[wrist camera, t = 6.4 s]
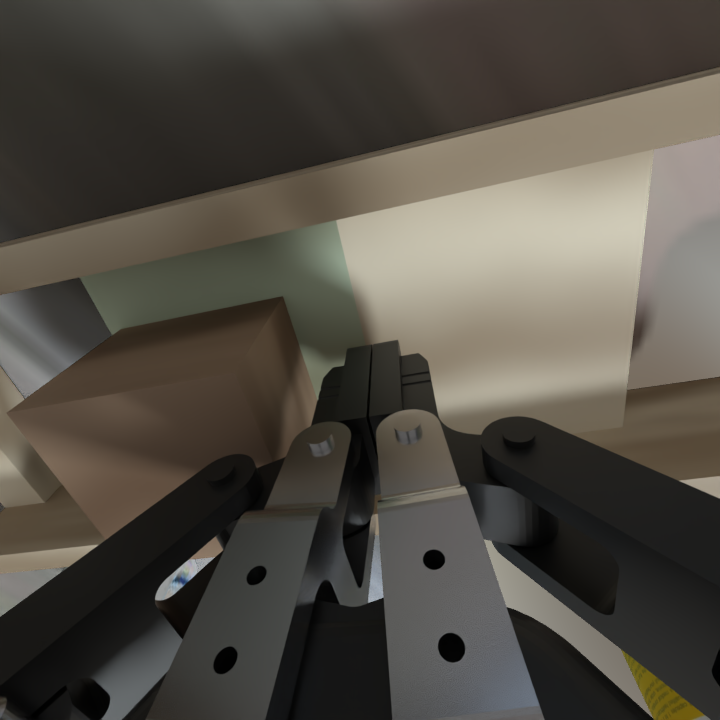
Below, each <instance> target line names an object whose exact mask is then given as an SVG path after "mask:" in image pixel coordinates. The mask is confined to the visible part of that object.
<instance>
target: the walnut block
mask: <svg viewBox="0 0 720 720" xmlns="http://www.w3.org/2000/svg"><path fill="white" fill-rule="evenodd" d="M316 404H317V398H316V395H315V392H314V388H313V385H312V382H311V379H310V376H309V373H308V370H307V367H306V364H305V361H304V358H303V355H302V352H301V349H300V346H299V343H298V340H297V337H296V334H295V331H294V328H293V325H292V322H291V319H290V316H289V313H288V310H287V307H286V304H285V301H284V298H283V296H281V297H276V298H271V299H266V300H261V301H256V302H251V303H246V304H242V305H237V306H232V307H227V308H222V309H217V310H212V311H207V312H202V313H197V314H192V315H187V316H183V317H178V318H173V319H168V320H163V321H158V322H153V323H148V324H143V325H138V326H133V327H129V328H124V329H120V330H119V331H118V332H116V333H115V334H113V335H112V336H111V337H109V338H108V339H107V340H105V341H104V342H102V343H101V344H100V345H98V346H97V347H96V348H94V349H93V350H92V351H90V352H89V353H87V354H86V355H85V356H83V357H82V358H81V359H79V360H78V361H76V362H75V363H74V364H72V365H71V366H70V367H68V368H67V369H66V370H64V371H63V372H61V373H60V374H59V375H57V376H56V377H55V378H53V379H52V380H50V381H49V382H48V383H46V384H45V385H44V386H42V387H41V388H40V389H38V390H37V391H35V392H34V393H33V394H31V395H30V396H29V397H27V398H26V399H25V400H23V401H22V402H20V403H19V404H18V405H16V406H15V407H14V408H12V409H11V410H9V411H8V412H7V415H8V416H9V417H10V419H11V420H12V421H13V422H14V424H15V425H16V426H17V427H18V429H19V430H20V431H21V433H22V434H23V435H24V436H25V438H26V439H27V440H28V442H29V443H30V444H31V445H32V447H33V448H34V449H35V450H36V452H37V453H38V454H39V456H40V457H41V458H42V459H43V461H44V462H45V463H46V464H47V466H48V467H49V468H50V470H51V471H52V472H53V473H54V475H55V476H56V477H57V478H58V480H59V481H60V482H61V484H62V485H63V486H64V487H65V489H66V490H67V491H68V492H69V494H70V495H71V496H72V498H73V499H74V500H75V501H76V503H77V504H78V505H79V506H80V508H81V509H82V510H83V512H84V513H85V514H86V515H87V517H88V518H89V519H90V520H91V522H92V523H93V524H94V526H95V527H96V528H97V529H98V531H99V532H100V533H101V535H102V536H103V537H104V538H105V540H106V539H108V538H109V537H110V536H112V535H113V534H114V533H116V532H117V531H118V530H120V529H121V528H123V527H124V526H125V525H127V524H128V523H129V522H131V521H132V520H133V519H135V518H136V517H138V516H139V515H140V514H142V513H143V512H144V511H146V510H147V509H149V508H150V507H151V506H153V505H154V504H155V503H157V502H158V501H159V500H161V499H162V498H164V497H165V496H166V495H168V494H169V493H170V492H172V491H173V490H175V489H176V488H177V487H179V486H180V485H181V484H183V483H184V482H185V481H187V480H188V479H190V478H191V477H192V476H194V475H195V474H196V473H198V472H199V471H200V470H202V469H203V468H205V467H206V466H207V465H209V464H210V463H212V462H214V461H215V460H217V459H220V458H222V457H225V456H228V455H232V454H244V455H247V456H250V457H251V458H252V459H253V461H254V462H255V465H256V467H257V468H258V467H261V466H263V465H266V464H269V463H271V462H274V461H277V460H279V459H282V458H284V457H286V455H287V453H288V450H289V448H290V445H291V443H292V441H293V440H294V438H295V437H296V436H297V435H298V434H299V433H300V432H302V431H303V430H304V429H306V428H308V427H310V426H311V423H312V420H313V416H314V412H315V408H316ZM222 551H223V549H222V547H221V545H220V543H219V542H218V540H217V538H216V536H215V537H214V538H213V539H212V540H211V541H210V542H208V543H207V544H206V545H205V546H204V547H203V548H202V549H200V550H199V551H198V552H197V553H196V554H195V555H193V556H192V557H191V558H190V559H189V560H191V559H200V558H210V557H216V556H217V555H218V554H219V553H221V552H222Z"/></svg>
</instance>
